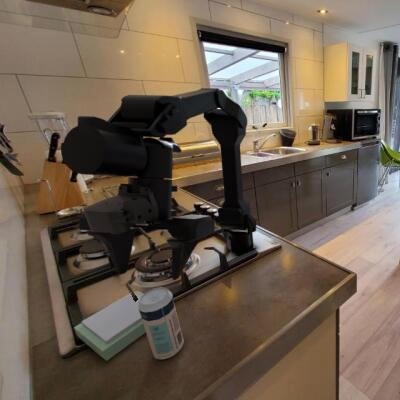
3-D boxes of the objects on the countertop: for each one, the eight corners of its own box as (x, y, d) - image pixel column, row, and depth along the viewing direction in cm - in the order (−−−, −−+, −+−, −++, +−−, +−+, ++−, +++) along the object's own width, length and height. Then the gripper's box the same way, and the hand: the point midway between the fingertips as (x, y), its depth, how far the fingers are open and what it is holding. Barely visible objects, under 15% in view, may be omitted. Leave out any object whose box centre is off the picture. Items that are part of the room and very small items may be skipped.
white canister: (177, 332, 48) (164, 281, 44) (189, 347, 45) (176, 294, 41) (149, 350, 44) (132, 296, 40) (159, 367, 42) (142, 312, 37)
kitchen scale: (142, 297, 56) (138, 286, 55) (170, 314, 52) (167, 302, 51) (78, 336, 47) (72, 324, 45) (106, 361, 42) (100, 347, 41)
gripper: (34, 171, 32) (34, 291, 33) (170, 179, 30) (167, 306, 31) (114, 176, 43) (113, 265, 44) (218, 182, 41) (214, 275, 42)
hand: (148, 276), depth 40 cm, fingers open, 9 cm apart
